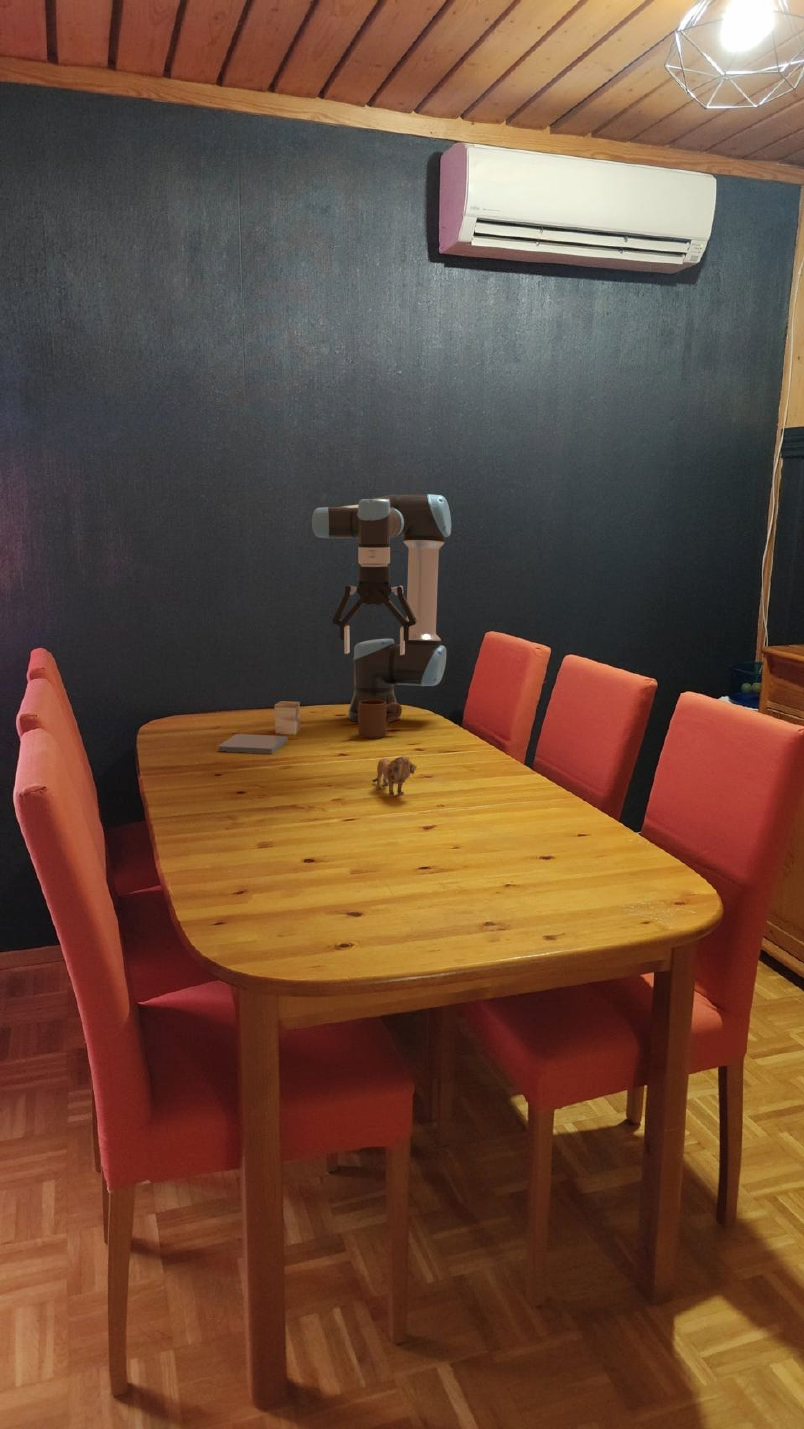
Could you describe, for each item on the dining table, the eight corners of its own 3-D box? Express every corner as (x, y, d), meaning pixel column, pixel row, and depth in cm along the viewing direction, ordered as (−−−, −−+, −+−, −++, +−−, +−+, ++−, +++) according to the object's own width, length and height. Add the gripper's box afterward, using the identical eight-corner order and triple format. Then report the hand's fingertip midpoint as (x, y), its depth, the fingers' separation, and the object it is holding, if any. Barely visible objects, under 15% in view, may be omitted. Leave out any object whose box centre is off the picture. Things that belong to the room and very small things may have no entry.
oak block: (280, 729, 269) (280, 701, 267) (300, 730, 268) (299, 701, 266) (275, 733, 263) (274, 705, 262) (294, 734, 263) (294, 705, 261)
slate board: (236, 739, 257) (236, 734, 256) (287, 741, 255) (287, 736, 254) (218, 751, 243) (218, 746, 243) (271, 754, 241) (271, 748, 241)
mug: (399, 731, 266) (399, 698, 265) (404, 737, 259) (405, 703, 257) (356, 733, 264) (356, 700, 262) (360, 739, 257) (360, 705, 255)
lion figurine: (419, 797, 204) (419, 756, 203) (398, 801, 202) (398, 760, 200) (382, 781, 216) (382, 743, 215) (362, 785, 214) (361, 746, 212)
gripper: (319, 565, 227) (320, 654, 231) (424, 566, 224) (423, 657, 228) (326, 563, 234) (327, 650, 239) (428, 564, 231) (427, 652, 235)
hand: (374, 653), depth 233 cm, fingers open, 13 cm apart
